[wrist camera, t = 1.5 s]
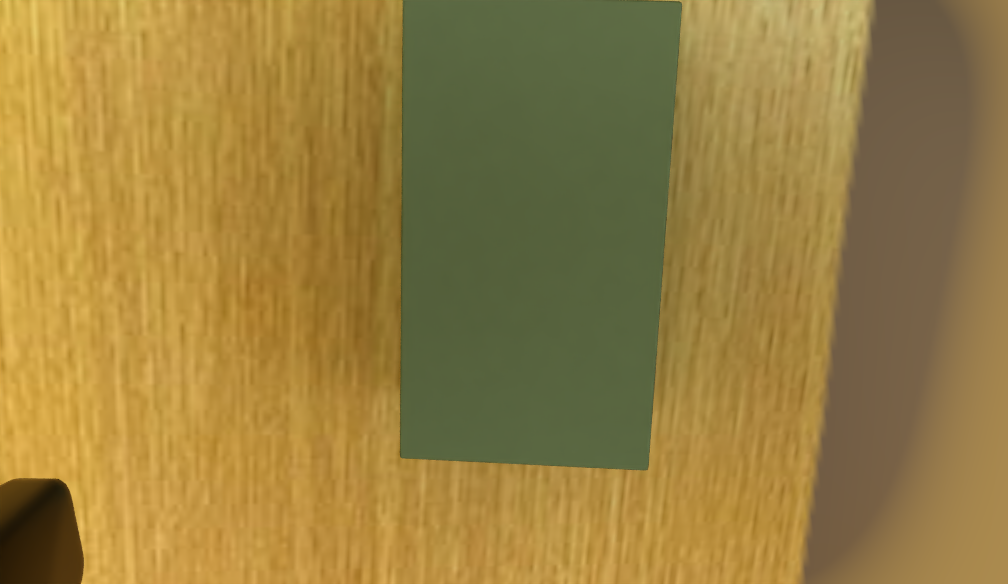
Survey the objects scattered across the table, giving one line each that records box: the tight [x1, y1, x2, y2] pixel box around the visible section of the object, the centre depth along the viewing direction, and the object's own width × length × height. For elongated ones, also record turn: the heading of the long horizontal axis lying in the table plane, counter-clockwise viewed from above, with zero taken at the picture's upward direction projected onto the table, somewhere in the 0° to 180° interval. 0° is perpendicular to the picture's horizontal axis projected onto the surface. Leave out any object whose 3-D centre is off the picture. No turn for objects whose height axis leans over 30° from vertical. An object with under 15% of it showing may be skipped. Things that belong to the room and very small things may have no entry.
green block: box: [400, 0, 682, 470], centre depth 20 cm, size 9×5×4 cm, turn 178°
